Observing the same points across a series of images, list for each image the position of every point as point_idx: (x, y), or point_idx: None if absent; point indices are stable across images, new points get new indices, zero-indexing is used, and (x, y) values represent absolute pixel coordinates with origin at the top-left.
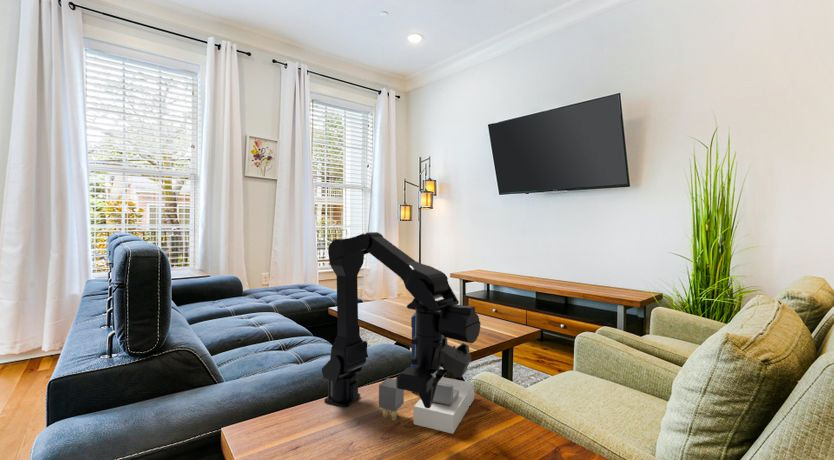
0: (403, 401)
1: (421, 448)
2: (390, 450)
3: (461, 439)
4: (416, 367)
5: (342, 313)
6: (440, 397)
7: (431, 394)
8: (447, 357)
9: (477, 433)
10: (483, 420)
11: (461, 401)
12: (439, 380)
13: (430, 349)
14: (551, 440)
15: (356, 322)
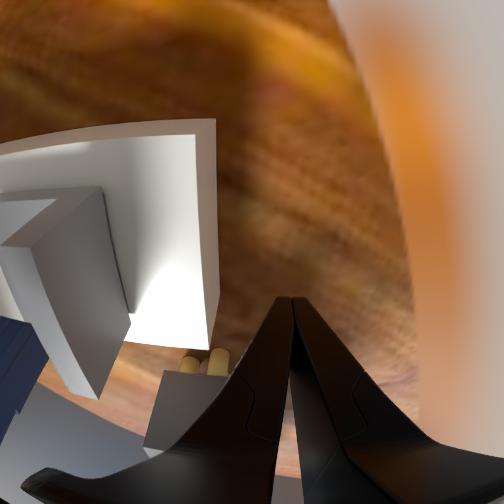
0: (164, 376)
1: (375, 215)
2: (404, 302)
3: (244, 66)
4: (9, 399)
5: None
6: (98, 272)
7: (356, 375)
8: None
9: (160, 18)
10: (53, 44)
11: (30, 153)
12: (461, 498)
13: None
14: None
15: None
